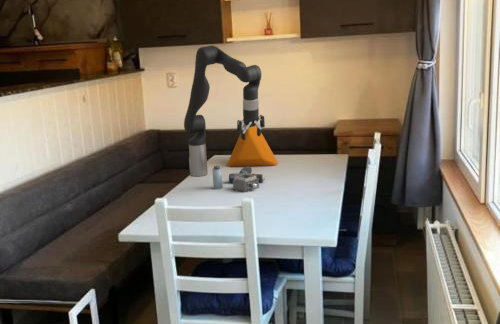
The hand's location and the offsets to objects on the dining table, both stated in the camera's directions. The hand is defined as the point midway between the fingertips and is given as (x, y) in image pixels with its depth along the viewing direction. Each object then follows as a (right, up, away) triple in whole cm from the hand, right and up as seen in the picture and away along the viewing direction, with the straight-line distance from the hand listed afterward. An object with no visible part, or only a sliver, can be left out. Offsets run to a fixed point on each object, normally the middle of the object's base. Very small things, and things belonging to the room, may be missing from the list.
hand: (251, 137), depth 272 cm
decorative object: (+1, -14, +53) cm, 55 cm away
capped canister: (-17, -25, +7) cm, 31 cm away
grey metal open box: (-1, -25, +2) cm, 26 cm away
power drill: (0, -21, +22) cm, 31 cm away
